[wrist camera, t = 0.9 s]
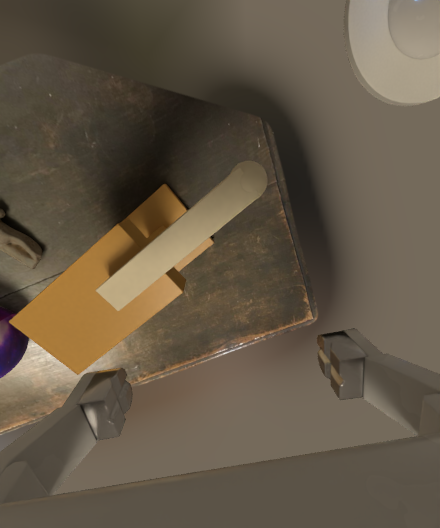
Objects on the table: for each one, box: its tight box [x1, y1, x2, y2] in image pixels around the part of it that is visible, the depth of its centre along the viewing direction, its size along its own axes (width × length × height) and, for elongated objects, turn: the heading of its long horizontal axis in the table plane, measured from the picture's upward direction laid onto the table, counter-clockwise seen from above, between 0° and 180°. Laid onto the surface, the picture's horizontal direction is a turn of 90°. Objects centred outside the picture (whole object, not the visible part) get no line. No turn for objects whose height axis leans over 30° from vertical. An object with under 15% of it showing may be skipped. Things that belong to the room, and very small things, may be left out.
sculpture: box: [0, 209, 42, 269], centre depth 43 cm, size 7×5×15 cm
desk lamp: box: [9, 184, 214, 375], centre depth 34 cm, size 18×14×27 cm
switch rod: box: [96, 161, 267, 311], centre depth 18 cm, size 15×3×3 cm, turn 129°
